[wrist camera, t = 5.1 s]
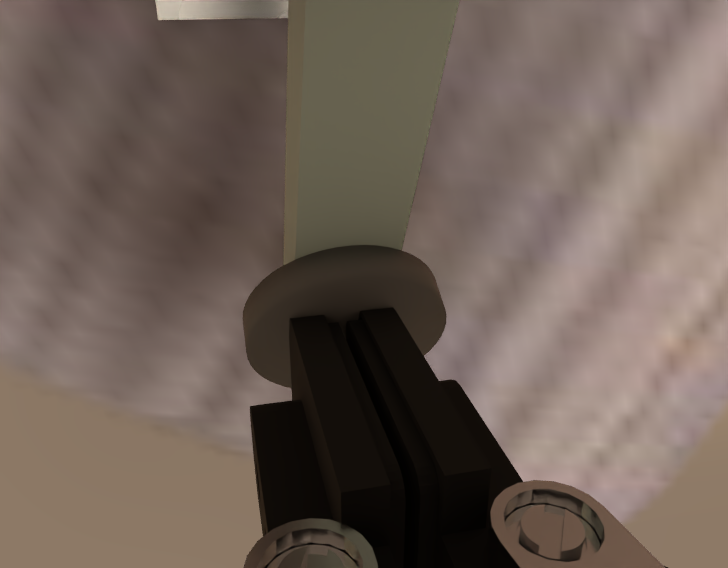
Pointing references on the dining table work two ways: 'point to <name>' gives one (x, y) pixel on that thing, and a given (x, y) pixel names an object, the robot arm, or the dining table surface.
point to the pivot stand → (221, 9)
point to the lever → (353, 171)
